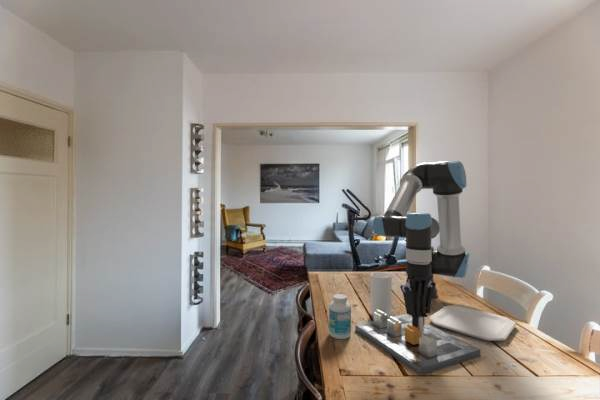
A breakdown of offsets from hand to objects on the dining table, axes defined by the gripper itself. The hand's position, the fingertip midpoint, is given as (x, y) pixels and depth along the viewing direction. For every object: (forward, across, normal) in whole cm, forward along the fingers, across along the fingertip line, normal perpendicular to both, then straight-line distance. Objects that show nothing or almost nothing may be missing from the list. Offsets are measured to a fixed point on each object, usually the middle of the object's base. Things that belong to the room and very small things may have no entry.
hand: (418, 336), depth 95 cm
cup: (+4, -7, -27) cm, 28 cm away
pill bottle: (+4, +18, -18) cm, 25 cm away
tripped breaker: (+1, +2, 0) cm, 2 cm away
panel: (+4, -1, -4) cm, 5 cm away
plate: (+4, -31, -4) cm, 32 cm away
